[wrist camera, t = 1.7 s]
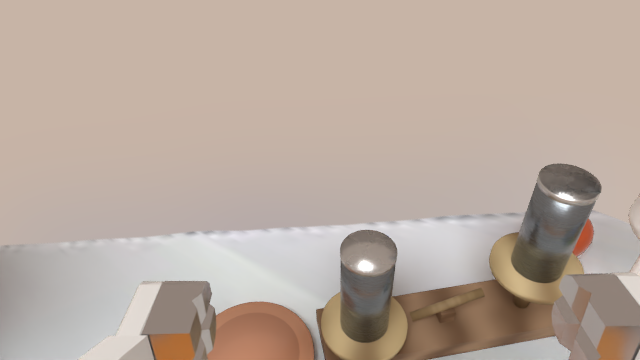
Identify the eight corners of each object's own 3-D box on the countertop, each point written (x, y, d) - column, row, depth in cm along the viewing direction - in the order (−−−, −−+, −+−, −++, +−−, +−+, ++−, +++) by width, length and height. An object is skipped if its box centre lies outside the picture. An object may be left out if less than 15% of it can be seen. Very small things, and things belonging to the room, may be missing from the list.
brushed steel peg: (345, 347, 48) (347, 276, 41) (335, 305, 52) (335, 234, 45) (395, 338, 49) (404, 267, 42) (381, 297, 53) (387, 226, 46)
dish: (188, 434, 45) (186, 428, 45) (192, 318, 55) (189, 311, 54) (324, 408, 47) (324, 402, 46) (304, 299, 57) (303, 293, 56)
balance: (330, 386, 49) (329, 339, 43) (315, 312, 55) (313, 264, 50) (576, 340, 52) (603, 291, 47) (533, 276, 59) (552, 226, 53)
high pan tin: (525, 287, 47) (559, 204, 40) (501, 249, 51) (527, 167, 44) (573, 279, 48) (614, 196, 41) (546, 242, 52) (579, 160, 45)
